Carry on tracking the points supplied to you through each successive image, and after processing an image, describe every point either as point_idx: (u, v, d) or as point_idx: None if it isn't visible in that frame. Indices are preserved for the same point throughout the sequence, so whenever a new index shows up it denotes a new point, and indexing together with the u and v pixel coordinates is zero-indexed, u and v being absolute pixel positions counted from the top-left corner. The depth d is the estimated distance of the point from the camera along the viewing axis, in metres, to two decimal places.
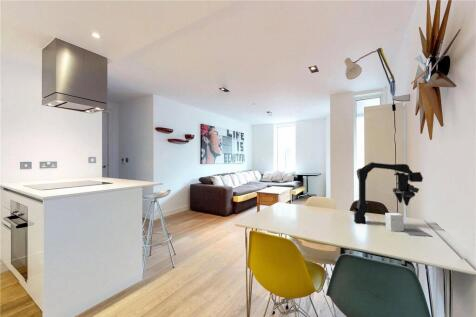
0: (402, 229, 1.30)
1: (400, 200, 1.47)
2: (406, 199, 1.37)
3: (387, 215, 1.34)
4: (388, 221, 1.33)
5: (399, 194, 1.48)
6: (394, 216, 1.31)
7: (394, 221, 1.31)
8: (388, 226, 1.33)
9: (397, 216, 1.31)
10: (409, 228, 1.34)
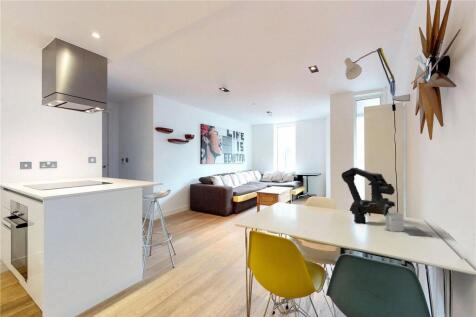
0: (402, 229, 1.30)
1: (384, 213, 1.35)
2: (367, 208, 1.38)
3: (387, 215, 1.34)
4: (388, 221, 1.33)
5: (384, 207, 1.35)
6: (394, 216, 1.31)
7: (394, 221, 1.31)
8: (388, 226, 1.33)
9: (397, 216, 1.31)
10: (409, 228, 1.34)
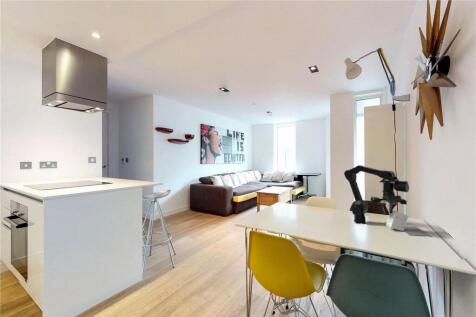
0: (402, 229, 1.30)
1: (389, 210, 1.35)
2: (382, 206, 1.36)
3: (392, 212, 1.34)
4: (391, 217, 1.33)
5: (390, 204, 1.35)
6: (399, 214, 1.31)
7: (397, 219, 1.31)
8: (389, 223, 1.34)
9: (402, 215, 1.31)
10: (409, 228, 1.34)
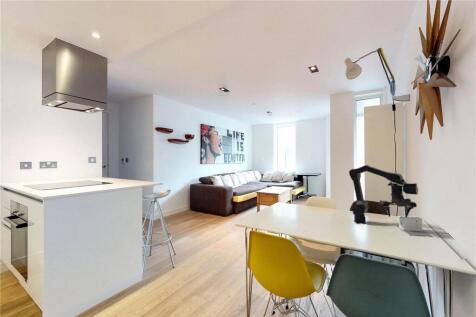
0: (405, 229, 1.30)
1: (405, 214, 1.32)
2: (386, 209, 1.35)
3: (417, 217, 1.32)
4: (412, 217, 1.31)
5: (406, 208, 1.32)
6: (420, 222, 1.29)
7: (414, 222, 1.29)
8: (405, 217, 1.32)
9: (420, 225, 1.29)
10: None
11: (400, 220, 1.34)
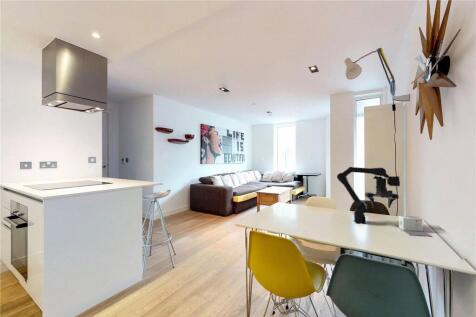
0: (405, 229, 1.30)
1: (388, 205, 1.42)
2: (371, 200, 1.46)
3: (417, 217, 1.32)
4: (412, 217, 1.31)
5: (389, 199, 1.42)
6: (420, 222, 1.29)
7: (414, 222, 1.29)
8: (405, 217, 1.32)
9: (420, 225, 1.29)
10: None
11: (400, 220, 1.34)
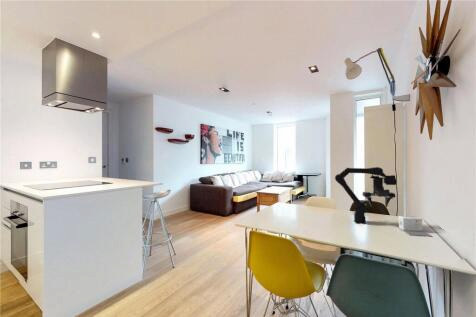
0: (405, 229, 1.30)
1: (385, 204, 1.44)
2: (368, 200, 1.48)
3: (417, 217, 1.32)
4: (412, 217, 1.31)
5: (386, 198, 1.44)
6: (420, 222, 1.29)
7: (414, 222, 1.29)
8: (405, 217, 1.32)
9: (420, 225, 1.29)
10: None
11: (400, 220, 1.34)
